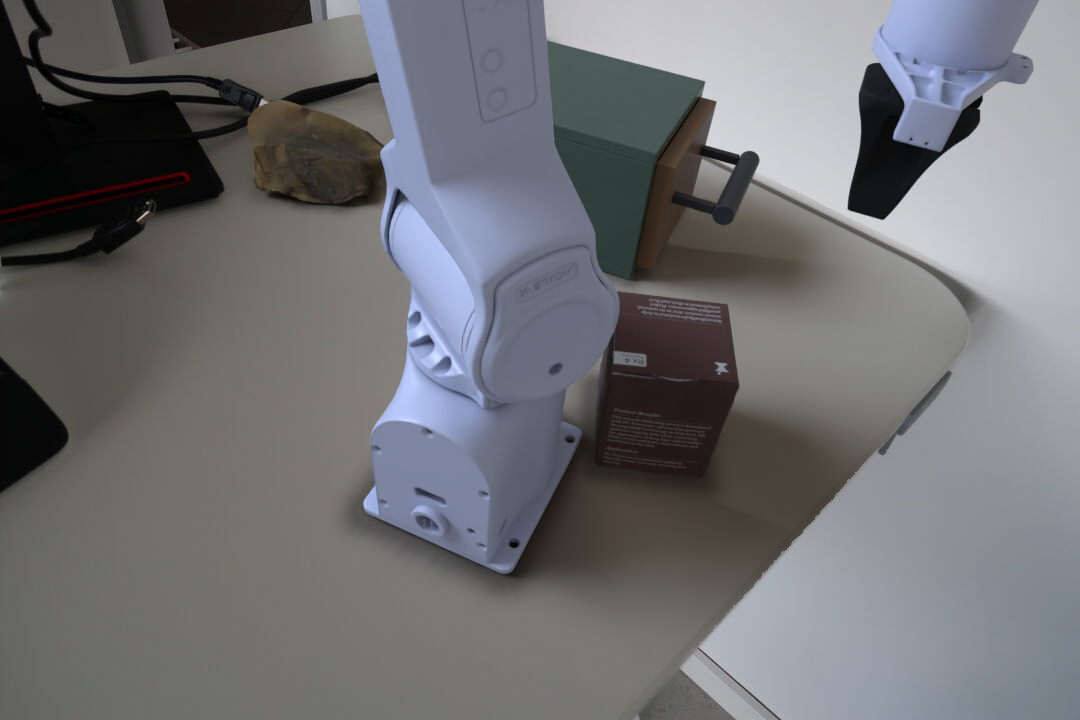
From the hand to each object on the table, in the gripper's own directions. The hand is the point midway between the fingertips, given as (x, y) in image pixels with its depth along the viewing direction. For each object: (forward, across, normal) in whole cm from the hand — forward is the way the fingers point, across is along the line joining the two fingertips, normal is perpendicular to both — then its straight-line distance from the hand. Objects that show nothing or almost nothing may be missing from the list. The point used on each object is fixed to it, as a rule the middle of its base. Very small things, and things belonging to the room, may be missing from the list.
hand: (866, 209), depth 41 cm
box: (+10, -13, +7) cm, 18 cm away
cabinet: (+9, +5, +19) cm, 22 cm away
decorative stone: (+10, 0, +38) cm, 39 cm away
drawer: (+8, +5, +15) cm, 18 cm away
